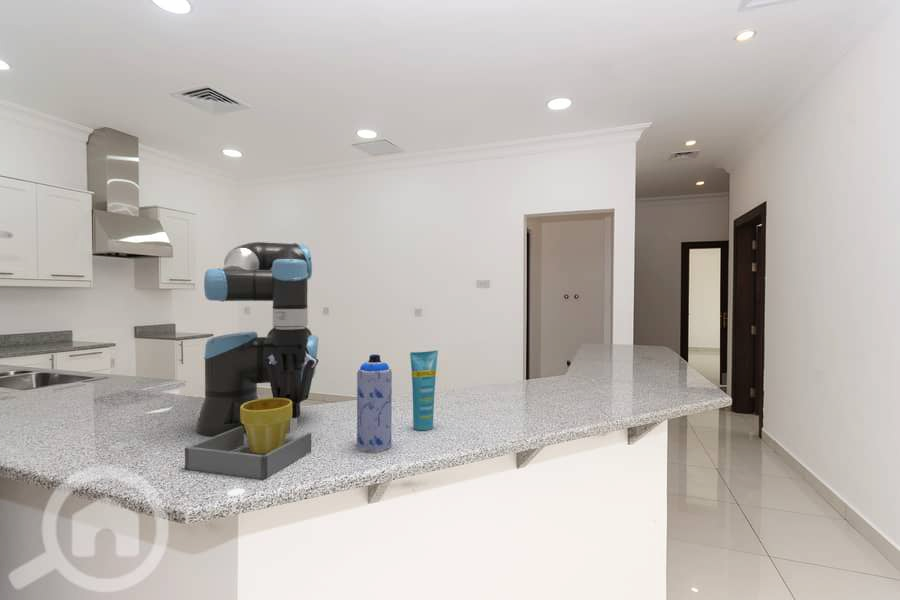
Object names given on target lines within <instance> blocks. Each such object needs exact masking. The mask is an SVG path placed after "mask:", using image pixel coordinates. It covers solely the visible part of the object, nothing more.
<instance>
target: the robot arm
mask: <svg viewBox="0 0 900 600" xmlns="http://www.w3.org/2000/svg"><path fill="white" fill-rule="evenodd" d="M223 263H224V265H223V267H222V268H221V267H219V268H209V269H207V270H206V271H205V273H204V280H203V281H204V282H203V283H204V284H203V288H204V295H205V299H207V300H208V301H216V302H246V301H247V302H251V301H253V302H259V301H260V302H263V301H264V302H272V328H271V329H270V330H269V331H268V332H267V335H266V336H259V335H258V333H257V332H256V331H243V332H235V333H229V334H223V335H219V336H214V337H211V338H209V339H208V340H206V343H205V347H204V349H205V351H204V356H203V359H204V401H203V404H202V406H201V410H200V413H199V417H198V418H197V421H196V432H197V433H198V434H200V435H203V436H210V437H211V436H212V437H214V436H217V435H219V434H222V433H224V432H227V431H229V430H232V429H234V428H237V427H240V426H244V424H242V423H241V418H240V407H241V405H242V404H244V403H246V402H249V401H252V400H257V399H259V396H258V390H257V389H258V384H269V386H270V390H271V393H272V394H271V395H272V398H286V399H289V400H291V401H292V407H293V410H292V417H291V419H289V423H288V428H287V433H286V434H287V435H288V434H289V435H290V434H293V433H294V432H296V431H298V418H299V417H300V415H301V402H303V401H305V400H308V399H309V395H310V392H311V391H310V390H311V386H312V381H313V378H314V377H315V374H316V370H317V369H316V368H317V365H318V363H319V359H318V358H317V357H318V346H319V337H318V336H317V335H314V334H312V332H311V330H310V329H309V327H308V325H309V322H308V321H309V316H308V315H309V314H308V312H309V311H308V280H310V279H311V277H312V275H313V274H312V273H313V265H312V264H313V262H312V254H311V251H310V248H309V247H308V245H306V244H304V243H303V244H301V243H296V242H294V243H287V242H286V243H281V242H262V241H257V242H256V241H255V242H254V241H253V242H248V243H245V244H242V245H239V246H236V247H234V248H232V249H231V250H230V251H228V253H227V254H226V255H225V258H224V262H223ZM244 434H246V430H245V426H244Z"/></svg>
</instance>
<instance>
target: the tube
mask: <svg viewBox="0 0 900 600" xmlns="http://www.w3.org/2000/svg"><path fill="white" fill-rule="evenodd" d="M438 351H439V350H428V351H415V352H413V351H411V352H410V353H409V357H410V365H411V366H410V367H411V384H412V417H413V418H412V422H413V424H412V425H413V429H415V430H417V431H430V430H432V429H433V428H434V412H435V411H434V407H435V390H436V377H437V375H436V374H437V363H438V355H439V352H438Z"/></svg>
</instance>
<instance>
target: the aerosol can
mask: <svg viewBox="0 0 900 600" xmlns="http://www.w3.org/2000/svg"><path fill="white" fill-rule="evenodd" d="M356 376H357V377H356V382H357V383H356V385H357V387H356V397H357V398H356V444H355V449H356V450H357V451H360V452H364V453H381V452H385V451H388V450H390V449H392V447H393V442H392V411H393V410H392V405H393V404H392V402H393V401H392V395H393V394H392V392H393V391H392V389H393V385H392V383H393V379H392V378H393V375H392V368H391V367H390V366H389V364H388V363H386V362H385V361H383V360H381V355H380V354H370V355H369V359H368V360H366V362H363V363H362V364H361V365H360V367H359V368H358V369H357V372H356Z"/></svg>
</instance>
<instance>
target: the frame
mask: <svg viewBox="0 0 900 600" xmlns="http://www.w3.org/2000/svg"><path fill="white" fill-rule="evenodd" d="M244 445H245V433H244V426H240V427H237V428H234V429H232V430H229V431H227V432H224V433H222V434H219V435H217V436H212V437H211V436H210V437H209V438H207V439H204V440H201V441H199V442H196V443H194V444H192V445H189V446H186V447H184V470H189V471H191V470H192V471H198V472H206V473H213V474H219V475H220V474H221V475H227V476H235V477H242V478H249V477H250V478H251V479H257V478H259V479H258V480H264V481H265V480H266V479H268V478H269V476H270V477H271V476H273V475H274V473H275V474H276V473H278V472H280V471H281V470H283V469H285V468H286V467H288V466H290V465H292V464H293V463H295V462H297V461H298V460H300V459H301V457H302V458H303V457H305V456H306V454H307V453H308V454H310V453H311V452H312V432H306V433H305V434H302V435H300V436H298V437H296V438H294V439H292V440H290V441H288V442H287V443H284V445H283V446H281V447H279V448H277V449H275V450H273V451H271V452H269V453H267V454H256V453H245V452H240V451H239V452H238V451H232V450H234V449H237V448H239V447H242V446H244ZM309 452H310V453H309ZM308 454H307V455H308ZM304 455H305V456H304ZM299 458H300V459H299ZM297 459H298V460H297ZM296 460H297V461H296ZM294 461H295V462H294ZM292 462H293V463H292ZM289 464H290V465H289ZM284 467H285V468H284ZM272 474H273V475H272ZM250 478H249V479H250Z"/></svg>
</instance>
